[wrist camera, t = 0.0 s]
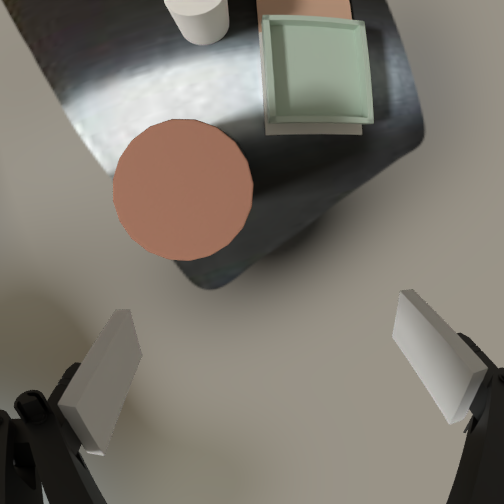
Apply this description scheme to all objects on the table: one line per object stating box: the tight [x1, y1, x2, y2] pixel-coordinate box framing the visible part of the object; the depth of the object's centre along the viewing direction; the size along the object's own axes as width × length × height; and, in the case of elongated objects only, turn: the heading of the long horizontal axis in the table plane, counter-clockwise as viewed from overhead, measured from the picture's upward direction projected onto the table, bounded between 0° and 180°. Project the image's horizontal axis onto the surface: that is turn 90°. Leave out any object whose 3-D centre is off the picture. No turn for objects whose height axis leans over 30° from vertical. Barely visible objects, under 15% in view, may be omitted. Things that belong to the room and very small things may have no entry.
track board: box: [256, 0, 362, 135], centre depth 33 cm, size 26×13×1 cm, turn 3°
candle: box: [164, 0, 229, 45], centre depth 25 cm, size 6×6×15 cm
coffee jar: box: [113, 119, 254, 261], centre depth 31 cm, size 11×11×18 cm
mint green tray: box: [261, 15, 374, 125], centre depth 33 cm, size 13×12×4 cm
